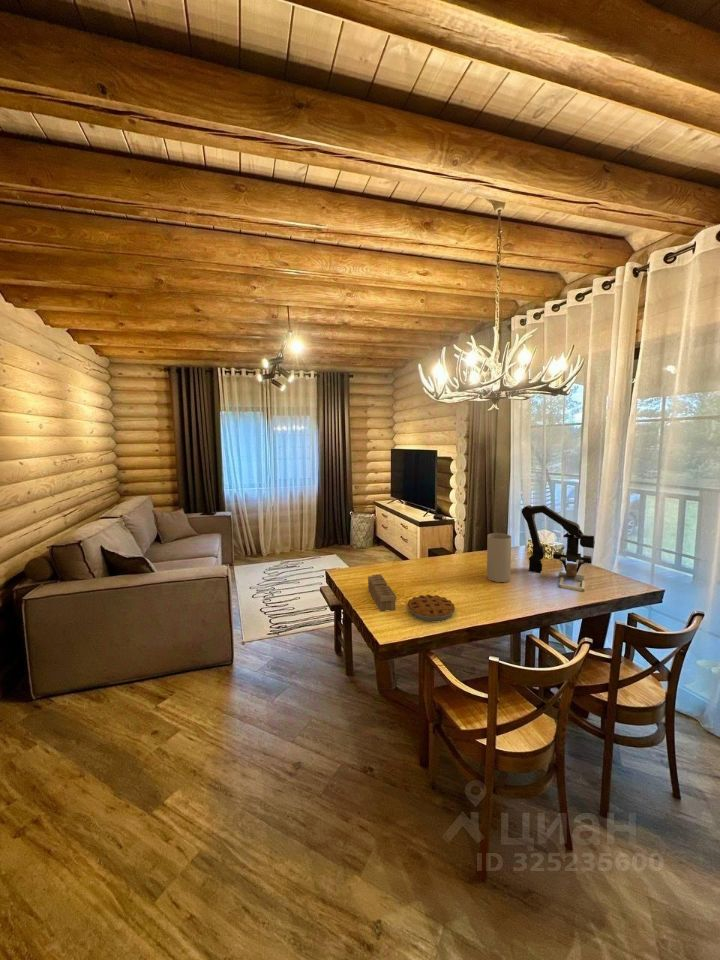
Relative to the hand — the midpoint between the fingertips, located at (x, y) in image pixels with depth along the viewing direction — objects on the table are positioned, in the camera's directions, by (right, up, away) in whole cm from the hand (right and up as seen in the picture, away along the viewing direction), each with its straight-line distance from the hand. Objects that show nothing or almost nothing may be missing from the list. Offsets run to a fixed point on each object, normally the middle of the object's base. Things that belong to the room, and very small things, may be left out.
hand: (571, 572), depth 210 cm
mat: (0, -3, 0) cm, 3 cm away
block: (0, -2, 0) cm, 2 cm away
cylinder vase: (-41, -4, 0) cm, 42 cm away
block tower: (-110, -9, -22) cm, 112 cm away
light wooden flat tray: (-6, -4, -11) cm, 13 cm away
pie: (-87, -10, -38) cm, 96 cm away
